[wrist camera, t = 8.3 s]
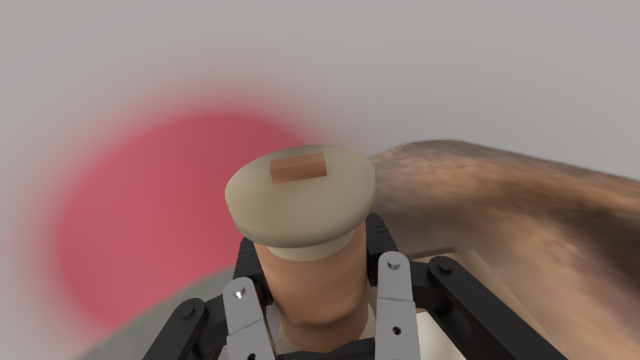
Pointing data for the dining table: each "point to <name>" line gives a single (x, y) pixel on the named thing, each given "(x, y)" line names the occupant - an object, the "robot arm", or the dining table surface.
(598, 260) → the dining table surface
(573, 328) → the dining table surface
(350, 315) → the bobbin
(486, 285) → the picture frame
